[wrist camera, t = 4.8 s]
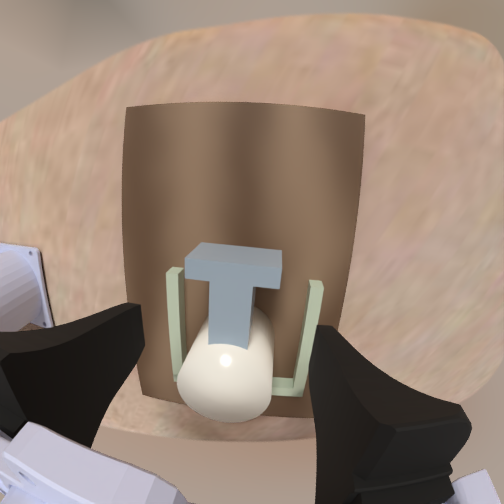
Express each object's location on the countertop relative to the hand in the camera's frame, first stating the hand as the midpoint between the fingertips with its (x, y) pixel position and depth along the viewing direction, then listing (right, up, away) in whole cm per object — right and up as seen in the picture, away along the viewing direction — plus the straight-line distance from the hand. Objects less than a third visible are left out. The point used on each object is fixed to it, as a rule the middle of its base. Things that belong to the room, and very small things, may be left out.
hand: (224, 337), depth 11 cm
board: (0, +1, +8) cm, 8 cm away
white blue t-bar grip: (0, 0, +8) cm, 8 cm away
